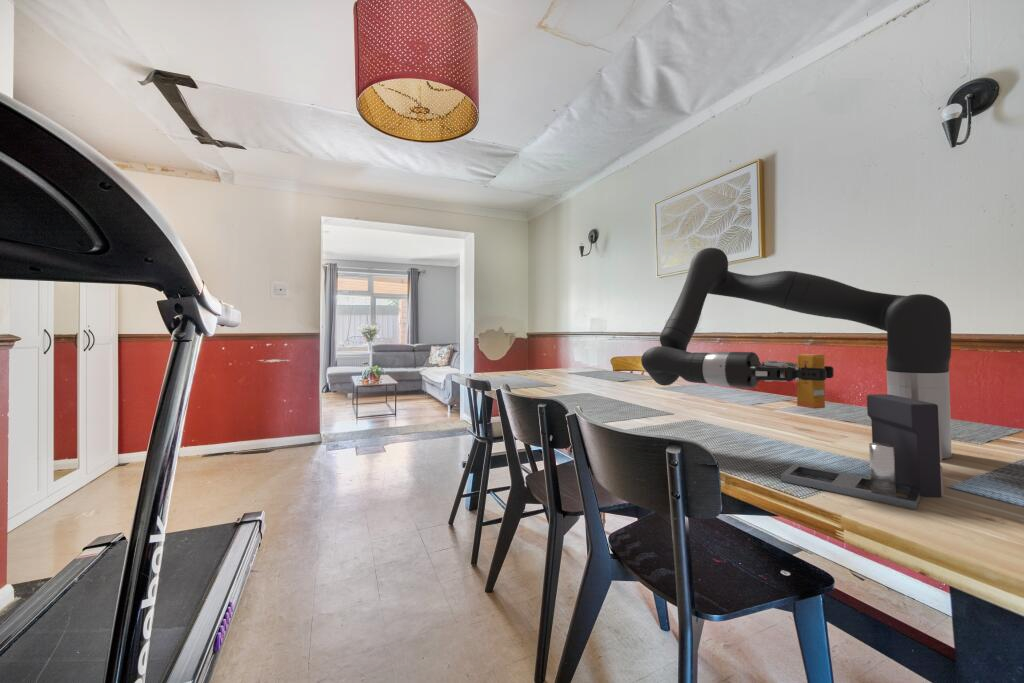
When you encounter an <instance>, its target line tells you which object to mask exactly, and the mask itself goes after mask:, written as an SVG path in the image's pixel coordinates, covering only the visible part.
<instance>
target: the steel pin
mask: <svg viewBox="0 0 1024 683" xmlns="http://www.w3.org/2000/svg"><path fill="white" fill-rule="evenodd" d="M868 448H869V450H868V451H869V478H870V485H871V487H870V491H875V492H880V493H885V494H890V495H895V496H897V492H896V471H895V446H893V445H890V444H885V443H872V442H869V444H868Z"/></svg>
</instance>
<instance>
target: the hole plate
mask: <svg viewBox="0 0 1024 683" xmlns="http://www.w3.org/2000/svg"><path fill="white" fill-rule="evenodd" d="M799 472H800V473H799ZM798 473H799V474H803V473H804V475H808V474H809V476H813V475H815V476H814V477H818V476H819V478H823V477H824V479H828V478H829V479H830V480H833V479H835V480H833V481H832V482H830V481H825V480H818V479H814V478H810V477H805V476H799V474H798ZM797 474H798V475H797ZM780 482H783V483H789V484H793V485H797V486H802V487H806V486H807V488H811V487H813V488H812V489H815V488H817V490H820V489H822V490H821V491H825V490H826V492H829V491H830V493H834V492H835V494H839V495H843V496H848V497H854V498H858V499H862V500H868V501H872V502H877V503H881V504H887V505H891V506H897V507H900V508H905V509H909V510H914V511H917V508H918V505H919V502H920V501H921V498H922V497H921V489H919V488H917V487H915V486H912V485H906V484H901V483H896V493H902V494H907V497H904V496H899V495H896V496H895V495H890V494H885V493H880V492H875V491H871V489H863V488H862V487H863V486H865V487H870V488H871V485H870V477H867V476H861V475H856V474H851V473H845V472H841V471H834V470H829V469H823V468H817V467H811V466H806V465H800V464H796V463H794V464H793V465H792V466H790V467H788V468H787V469H786V470H785V471H783V472H782V473H781V474H780Z"/></svg>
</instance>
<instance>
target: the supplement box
mask: <svg viewBox="0 0 1024 683" xmlns="http://www.w3.org/2000/svg"><path fill="white" fill-rule="evenodd" d="M796 356H797V357H796V358H797V362H796V363H797V366H798V367H800V370H801V368H802V367H803V368H824V369H825V366H826V365H825V362H826V361H825V356H826V355H825V354H813V353H812V354H808V353H799V354H797V355H796ZM796 382H797V384H796V387H797V388H796V389H797V390H796V391H797V395H796V396H797V398H796V406H797V407H802V408H807V409H811V410H812V409H813V410H814V409H815V410H816V409H823V408H826V396H825V395H826V389H825V388H826V387H825V386H826V383H825V382H826V380H823V381H819V380H801V378H800V380H798V381H796Z"/></svg>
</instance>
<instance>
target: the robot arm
mask: <svg viewBox="0 0 1024 683" xmlns="http://www.w3.org/2000/svg"><path fill="white" fill-rule="evenodd" d="M728 260H729V259H728V257H727V255H726V252H724V251H723V250H722V249H719V248H717V247H706V248H703V249H701V250H699V251H697V252H696V253H695V254H694V255H693V256H692V258H691V261H690V264H689V267H688V272H687V275H686V279H685V282H684V285H683V286H682V289H681V292H680V294H679V296H678V299H677V301H676V303H675V305H674V307H673V309H672V311H671V313H670V314H669V317H668V318H667V321H666V322H665V325H664V327H663V328H662V331H661V333H660V335H659V342H660V345H659V346H653V347H650V348H648V349H647V350H645V351H644V353H643V354H642V356H641V360H640V362H641V365H642V368H643V370H645V371H646V372H647V374H648V375H649V376H650V377H651V379H652V380H654V382H655V383H657V384H658V385H659V386H664V387H665V386H666V387H667V386H670V385H673V383H675V382H676V381H678V379H679V377H680V378H682V379H683V380H685V381H686V382H688V383H693V384H694V383H695V384H708V385H709V384H710V385H714V386H719V387H731V388H732V387H733V388H745V389H746V388H747V389H755V388H756V387H757V386H758V384H759V382H760V381H762V382H768V383H769V382H782V383H783V382H793V381H796V382H797V381H798V380H800V378H801V380H819V381H823V380H825V381H826V380H827V379H833V377H834V374H835V373H834V367H833V366H831V365H830V366H828V365H825V369H824V368H803V367H802V368H801V370H800V367H798V366H797V362H796V363H795V362H793V361H778V360H765V361H762V363H761V362H760V357H759V356H758V354H757V353H756V352H753V351H713V352H691V351H687V348H688V346H689V343H690V342H691V339H692V337H693V335H694V333H695V332H696V329H697V326H698V324H699V321H700V317H701V315H702V312H703V307H704V304H705V302H706V298H707V296H708V295H713V296H714V295H715V296H720V297H730V298H735V299H736V298H737V299H741V300H746V301H749V302H750V301H751V302H754V303H760V304H764V305H768V306H773V307H776V308H780V309H784V310H786V311H787V310H788V311H793V312H796V313H800V314H806V315H811V316H815V317H816V316H817V317H821V318H822V317H824V318H830V319H838V320H844V321H845V320H847V321H850V322H855V323H859V324H863V325H866V326H868V327H872V328H876V329H879V330H882V331H884V332H886V334H887V336H886V338H887V339H886V340H887V351H886V352H887V353H886V359H885V362H886V363H885V364H886V384H887V385H886V387H887V389H886V390H887V394H886V395H895V396H900V397H905V398H909V399H914V400H919V401H924V402H929V403H934V404H937V406H938V408H939V433H941V447H942V460H944V459H951V458H952V455H953V454H952V424H951V423H952V422H951V391H950V390H951V389H950V388H951V387H950V361H951V359H952V319H951V318H952V317H951V316H952V315H951V311H950V308H949V307H948V305H947V304H946V302H945V301H943V300H941V299H940V298H938V297H936V296H934V295H931V294H926V293H925V294H922V293H917V294H909V295H902V294H901V295H900V294H891V293H884V292H877V291H870V290H865V289H861V288H857V287H854V286H851V285H849V284H846V283H844V282H840V281H839V280H838V281H837V280H835V279H830V278H829V277H824V276H820V275H816V274H812V273H811V274H810V273H804V272H801V271H800V272H799V271H793V270H781V271H773V272H770V273H769V272H767V273H763V274H758V275H757V274H756V275H751V274H747V275H746V274H741V273H737V272H733V271H730V270H729V261H728Z"/></svg>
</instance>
